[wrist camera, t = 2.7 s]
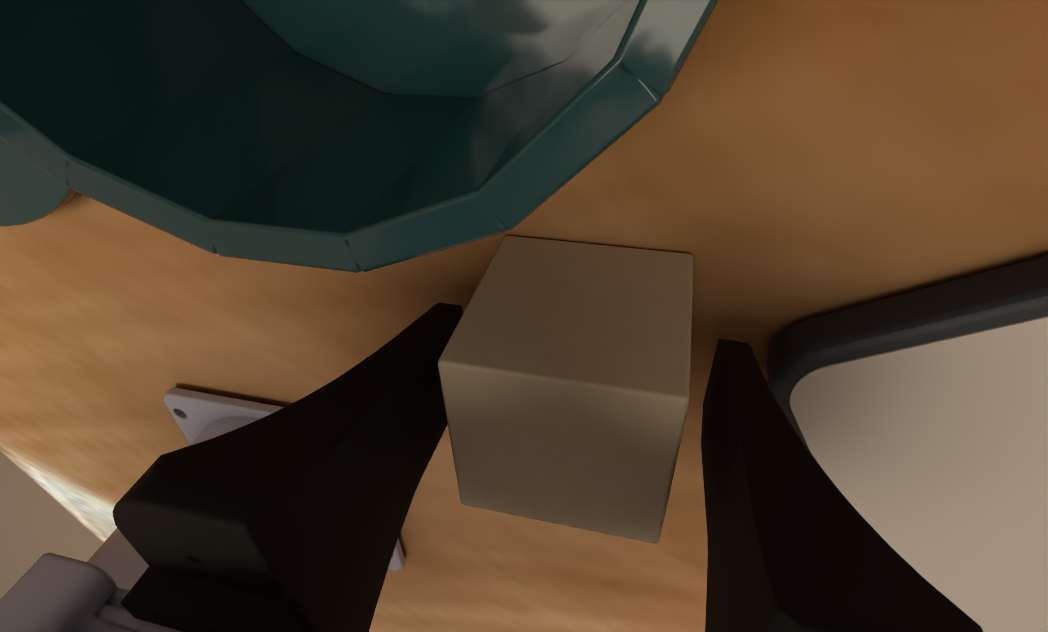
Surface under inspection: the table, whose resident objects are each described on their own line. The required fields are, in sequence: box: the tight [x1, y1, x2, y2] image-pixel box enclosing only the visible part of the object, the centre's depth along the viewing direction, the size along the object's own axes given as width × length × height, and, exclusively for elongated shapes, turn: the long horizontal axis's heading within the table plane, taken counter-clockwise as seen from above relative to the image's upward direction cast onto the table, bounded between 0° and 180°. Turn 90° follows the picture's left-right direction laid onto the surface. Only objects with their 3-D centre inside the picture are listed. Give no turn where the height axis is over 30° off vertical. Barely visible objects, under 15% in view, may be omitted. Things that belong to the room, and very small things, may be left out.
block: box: [438, 236, 693, 544], centre depth 13 cm, size 4×4×5 cm
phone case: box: [766, 256, 1048, 632], centre depth 14 cm, size 9×2×16 cm
